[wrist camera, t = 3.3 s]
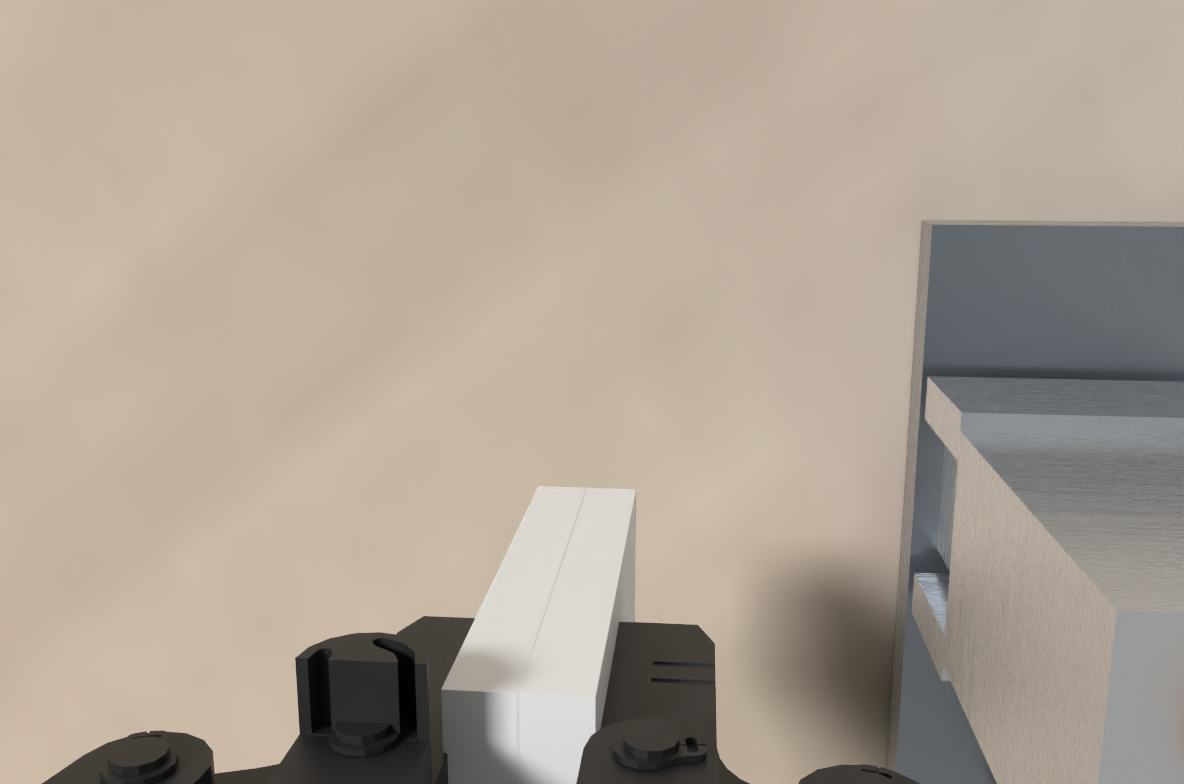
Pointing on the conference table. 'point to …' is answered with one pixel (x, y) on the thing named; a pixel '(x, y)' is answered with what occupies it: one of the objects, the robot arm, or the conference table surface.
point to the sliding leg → (1063, 576)
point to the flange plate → (1012, 350)
